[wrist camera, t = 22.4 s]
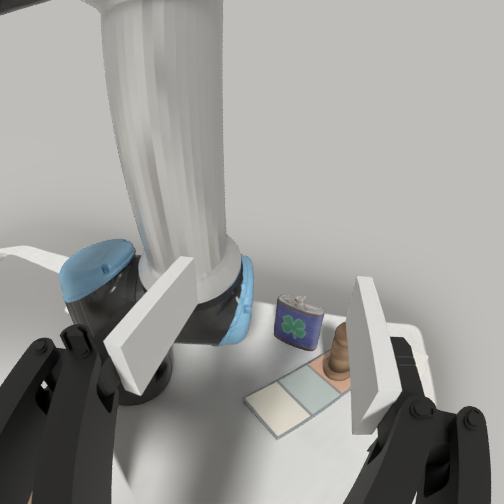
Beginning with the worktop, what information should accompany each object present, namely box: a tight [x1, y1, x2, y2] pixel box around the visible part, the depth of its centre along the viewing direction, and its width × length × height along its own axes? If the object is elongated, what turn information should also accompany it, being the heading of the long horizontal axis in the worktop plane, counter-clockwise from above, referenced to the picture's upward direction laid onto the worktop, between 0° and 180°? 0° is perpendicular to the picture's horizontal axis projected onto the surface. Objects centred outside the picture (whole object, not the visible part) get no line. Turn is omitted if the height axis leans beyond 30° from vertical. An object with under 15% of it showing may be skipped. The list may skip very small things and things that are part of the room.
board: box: [243, 349, 351, 440], centre depth 40 cm, size 9×20×1 cm, turn 123°
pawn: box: [323, 322, 350, 381], centre depth 41 cm, size 5×5×10 cm
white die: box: [412, 350, 428, 380], centre depth 38 cm, size 6×6×6 cm
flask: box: [274, 295, 324, 351], centre depth 49 cm, size 9×3×11 cm, turn 55°
